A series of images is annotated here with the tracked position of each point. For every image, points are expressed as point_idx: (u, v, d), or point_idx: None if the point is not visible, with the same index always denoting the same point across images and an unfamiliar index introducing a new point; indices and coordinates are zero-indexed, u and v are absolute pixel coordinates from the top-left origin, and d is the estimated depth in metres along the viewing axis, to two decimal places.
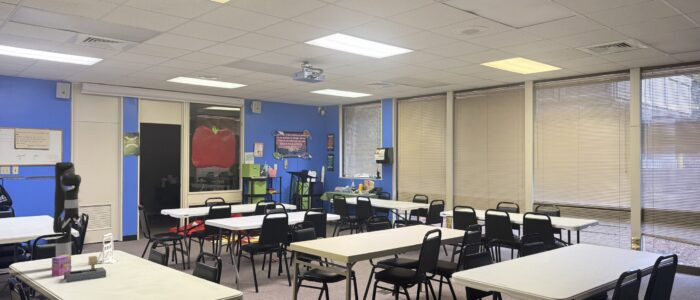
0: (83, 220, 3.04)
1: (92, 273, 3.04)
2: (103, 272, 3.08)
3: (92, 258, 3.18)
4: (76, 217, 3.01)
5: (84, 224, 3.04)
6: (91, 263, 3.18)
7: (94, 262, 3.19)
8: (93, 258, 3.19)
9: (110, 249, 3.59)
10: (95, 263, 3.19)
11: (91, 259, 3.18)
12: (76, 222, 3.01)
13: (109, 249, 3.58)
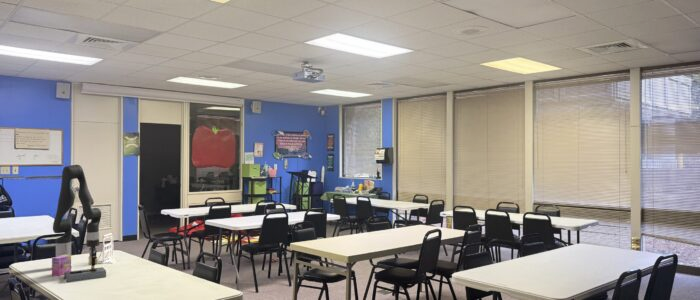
0: None
1: (92, 273, 3.04)
2: (103, 272, 3.08)
3: None
4: None
5: None
6: (91, 263, 3.18)
7: None
8: None
9: (110, 249, 3.59)
10: (95, 263, 3.19)
11: None
12: None
13: (109, 249, 3.58)
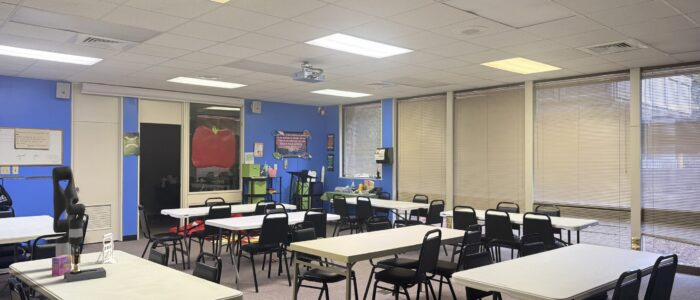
0: None
1: (92, 273, 3.04)
2: (103, 272, 3.08)
3: None
4: None
5: None
6: None
7: (78, 260, 3.03)
8: None
9: (110, 249, 3.59)
10: (78, 261, 3.03)
11: None
12: None
13: (109, 249, 3.58)
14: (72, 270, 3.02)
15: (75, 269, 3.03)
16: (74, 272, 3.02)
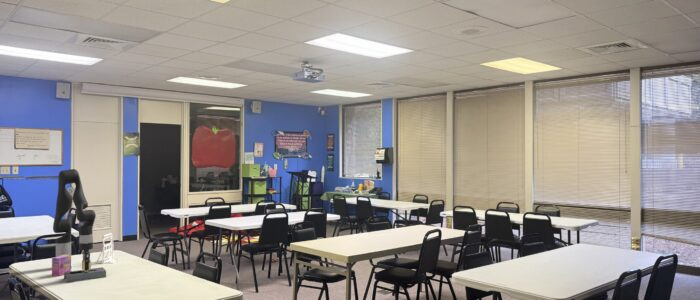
0: None
1: (92, 273, 3.04)
2: (103, 272, 3.08)
3: None
4: None
5: None
6: (84, 267, 3.05)
7: None
8: None
9: (110, 249, 3.59)
10: (89, 267, 3.06)
11: (84, 263, 3.05)
12: None
13: (109, 249, 3.58)
14: None
15: None
16: None
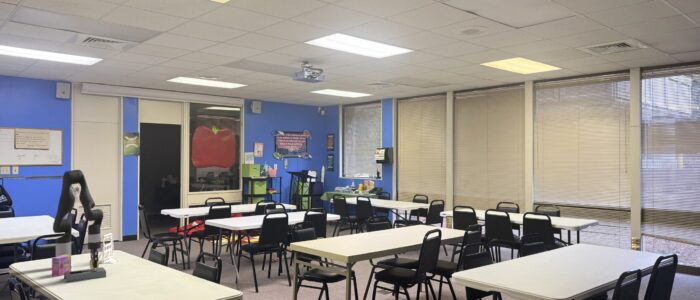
0: None
1: (92, 273, 3.04)
2: (103, 272, 3.08)
3: None
4: None
5: None
6: (92, 266, 3.08)
7: None
8: None
9: (110, 249, 3.59)
10: (97, 266, 3.09)
11: (92, 262, 3.08)
12: None
13: (109, 249, 3.58)
14: None
15: None
16: None
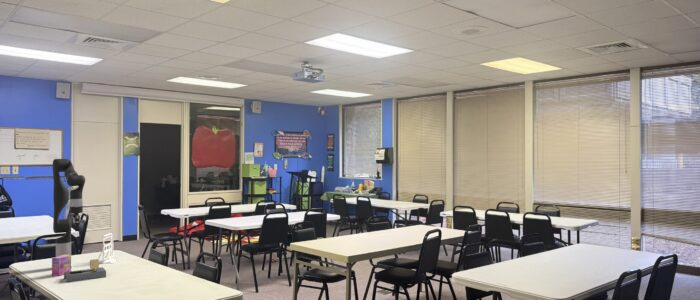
0: None
1: (92, 273, 3.04)
2: (103, 272, 3.08)
3: (93, 261, 3.08)
4: None
5: None
6: (92, 266, 3.08)
7: (96, 265, 3.09)
8: (94, 261, 3.09)
9: (110, 249, 3.59)
10: (97, 266, 3.09)
11: (92, 262, 3.08)
12: None
13: (109, 249, 3.58)
14: None
15: None
16: None
